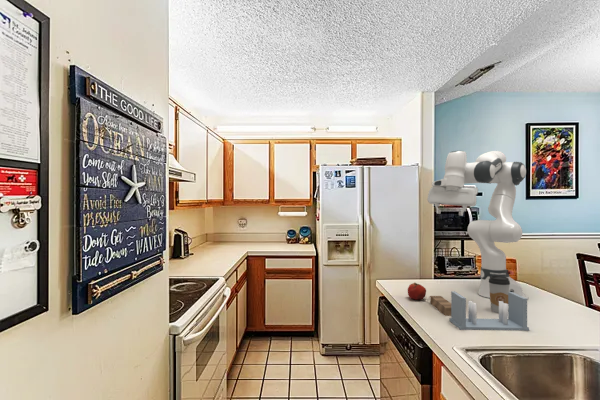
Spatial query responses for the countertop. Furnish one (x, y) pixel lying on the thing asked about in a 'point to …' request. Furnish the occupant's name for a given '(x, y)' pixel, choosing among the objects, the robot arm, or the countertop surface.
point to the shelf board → (441, 305)
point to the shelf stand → (509, 319)
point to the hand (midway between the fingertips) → (449, 214)
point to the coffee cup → (498, 291)
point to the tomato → (416, 291)
